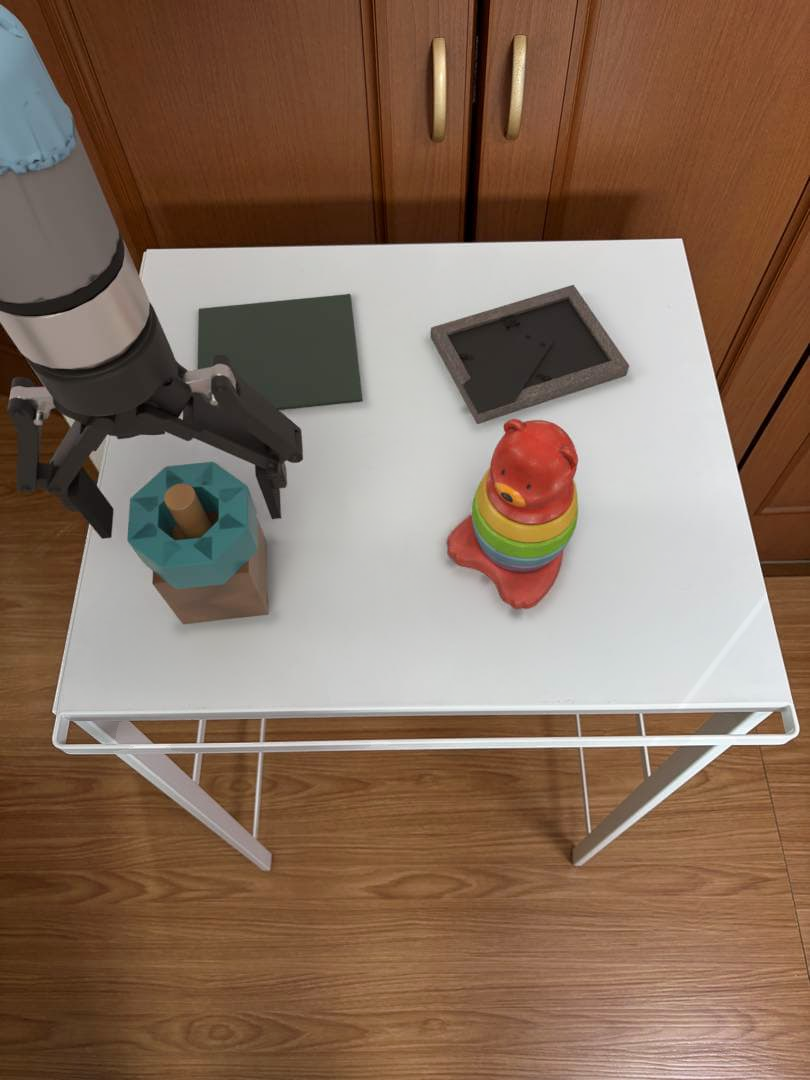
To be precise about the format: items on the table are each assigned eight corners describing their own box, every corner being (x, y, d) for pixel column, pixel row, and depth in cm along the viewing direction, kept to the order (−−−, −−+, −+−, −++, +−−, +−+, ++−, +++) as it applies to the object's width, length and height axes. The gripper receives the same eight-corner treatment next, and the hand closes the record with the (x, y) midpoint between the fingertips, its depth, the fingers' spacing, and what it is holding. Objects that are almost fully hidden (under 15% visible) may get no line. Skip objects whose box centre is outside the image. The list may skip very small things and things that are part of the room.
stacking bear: (437, 549, 73) (442, 442, 57) (503, 484, 76) (525, 366, 60) (524, 619, 69) (555, 525, 53) (589, 547, 72) (636, 439, 57)
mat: (197, 418, 81) (196, 416, 80) (199, 311, 88) (198, 308, 88) (362, 401, 81) (362, 398, 81) (350, 296, 89) (350, 293, 89)
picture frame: (477, 424, 80) (626, 375, 83) (478, 412, 78) (630, 363, 81) (430, 337, 86) (571, 294, 88) (430, 324, 84) (574, 281, 87)
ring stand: (182, 624, 69) (124, 547, 56) (184, 549, 73) (130, 459, 60) (268, 614, 70) (231, 535, 56) (266, 540, 73) (230, 449, 60)
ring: (141, 593, 61) (124, 572, 58) (147, 494, 66) (131, 469, 62) (258, 580, 61) (248, 558, 58) (256, 483, 66) (247, 457, 62)
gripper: (304, 254, 44) (341, 458, 62) (-126, 298, 43) (42, 492, 62) (312, 350, 40) (349, 536, 59) (-157, 401, 39) (31, 573, 58)
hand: (192, 514), depth 60 cm, fingers open, 13 cm apart
